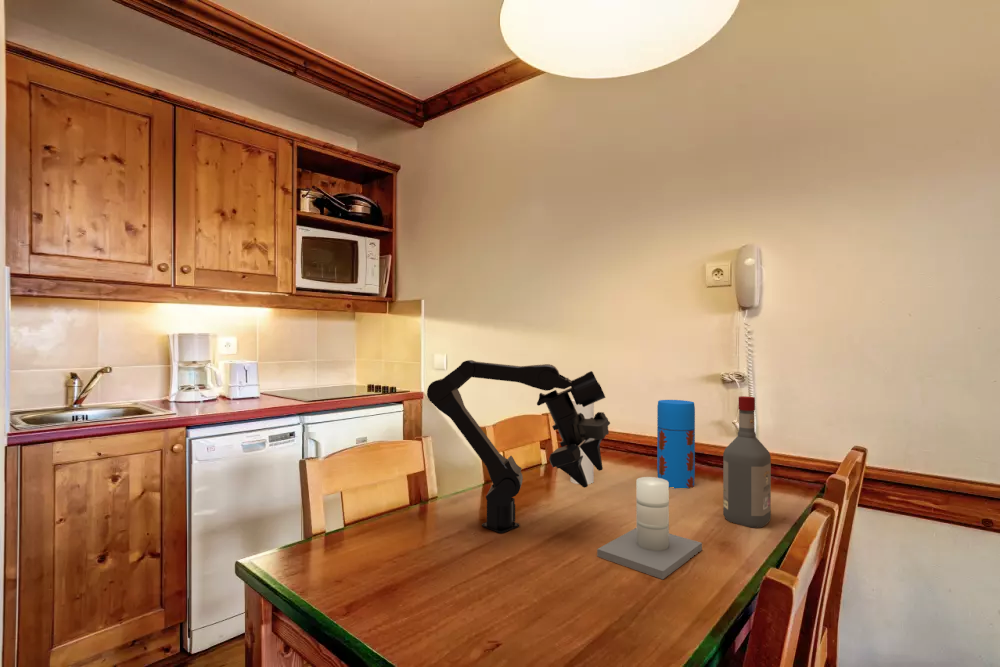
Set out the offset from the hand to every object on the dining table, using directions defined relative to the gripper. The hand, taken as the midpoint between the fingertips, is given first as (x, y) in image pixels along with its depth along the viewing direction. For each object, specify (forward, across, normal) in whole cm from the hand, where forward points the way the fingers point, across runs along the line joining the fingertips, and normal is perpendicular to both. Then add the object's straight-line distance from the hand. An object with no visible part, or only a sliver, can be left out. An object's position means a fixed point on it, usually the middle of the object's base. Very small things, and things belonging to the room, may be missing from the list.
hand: (593, 478), depth 114 cm
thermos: (+23, +47, +2) cm, 52 cm away
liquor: (+27, +24, -20) cm, 41 cm away
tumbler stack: (+14, -5, -10) cm, 18 cm away
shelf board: (+16, -7, -9) cm, 19 cm away
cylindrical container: (+11, +34, +24) cm, 43 cm away
